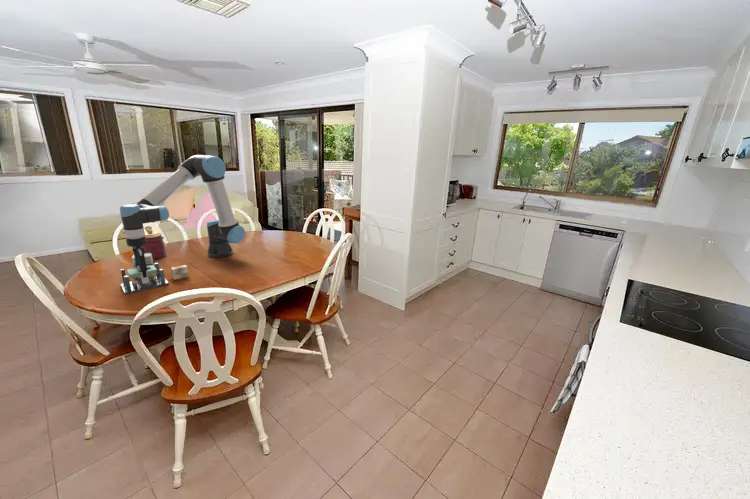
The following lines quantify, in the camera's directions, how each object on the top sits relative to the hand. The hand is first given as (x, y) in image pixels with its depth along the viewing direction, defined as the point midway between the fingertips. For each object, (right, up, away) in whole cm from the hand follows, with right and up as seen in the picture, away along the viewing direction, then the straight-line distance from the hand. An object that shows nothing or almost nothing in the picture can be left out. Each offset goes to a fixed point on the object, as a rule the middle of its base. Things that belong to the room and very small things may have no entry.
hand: (144, 280), depth 156 cm
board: (0, +4, -1) cm, 4 cm away
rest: (+11, 0, +12) cm, 16 cm away
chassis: (0, -3, +1) cm, 3 cm away
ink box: (-8, +1, +12) cm, 14 cm away
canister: (-23, +11, +40) cm, 47 cm away
